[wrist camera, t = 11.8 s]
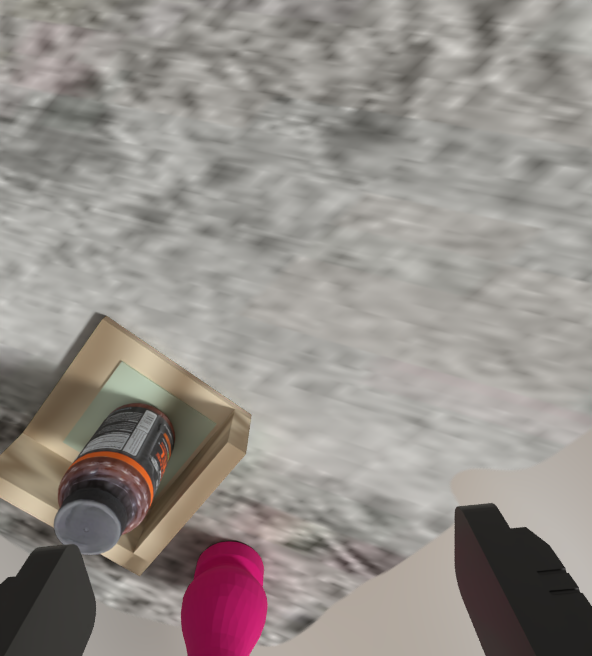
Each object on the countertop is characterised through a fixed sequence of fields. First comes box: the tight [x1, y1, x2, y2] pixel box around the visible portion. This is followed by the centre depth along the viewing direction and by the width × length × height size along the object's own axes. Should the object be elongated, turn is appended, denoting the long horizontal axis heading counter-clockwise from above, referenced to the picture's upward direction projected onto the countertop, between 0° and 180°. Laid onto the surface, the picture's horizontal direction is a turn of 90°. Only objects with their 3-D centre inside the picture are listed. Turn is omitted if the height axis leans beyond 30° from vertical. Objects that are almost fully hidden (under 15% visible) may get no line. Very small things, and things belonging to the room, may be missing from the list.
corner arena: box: [0, 316, 251, 576], centre depth 38 cm, size 14×14×6 cm
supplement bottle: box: [54, 403, 175, 555], centre depth 34 cm, size 6×6×11 cm
